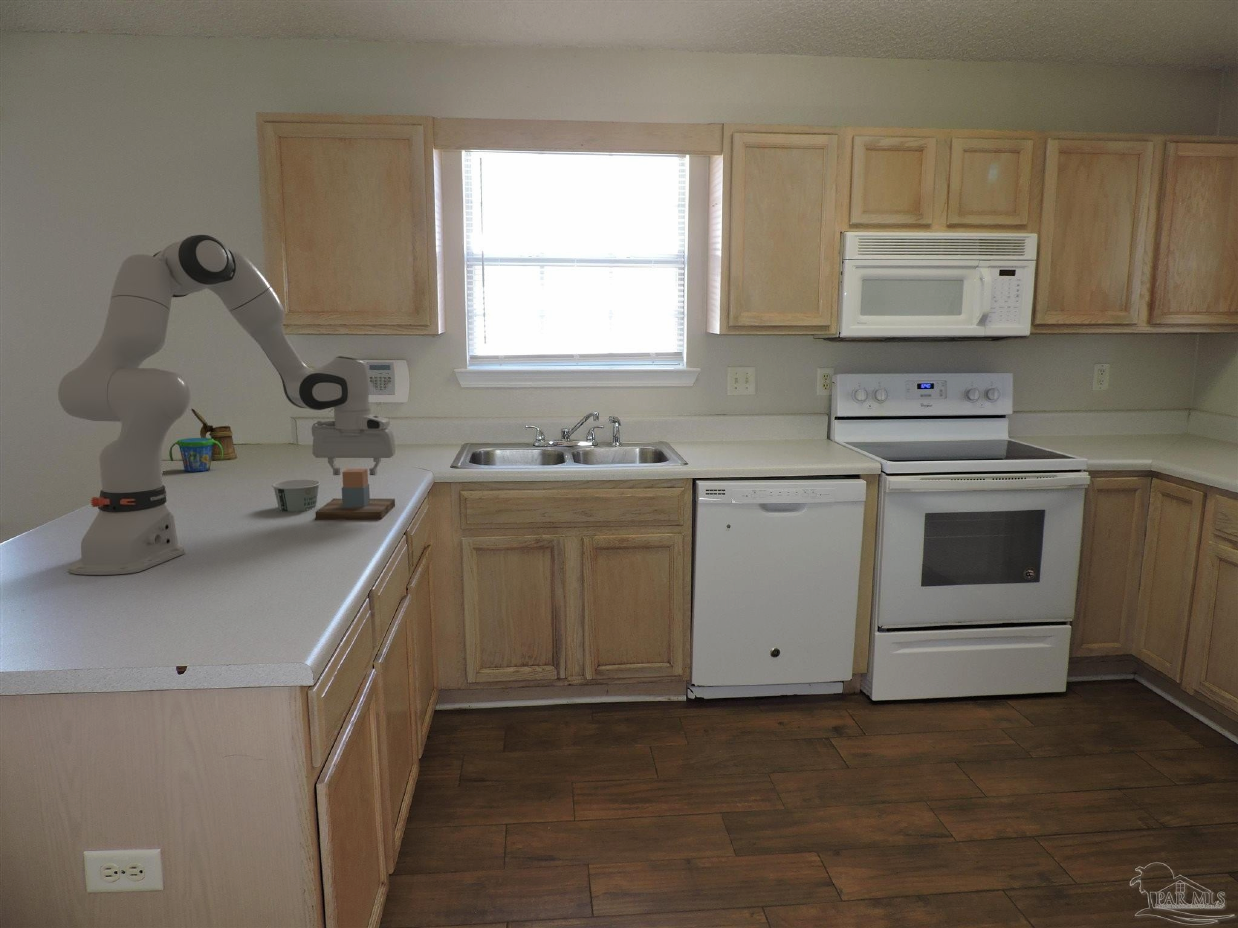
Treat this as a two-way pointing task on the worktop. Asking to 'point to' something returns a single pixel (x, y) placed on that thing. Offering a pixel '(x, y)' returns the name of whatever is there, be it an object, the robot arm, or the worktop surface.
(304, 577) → the worktop surface
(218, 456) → the wooden mug
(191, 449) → the snack cup
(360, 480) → the terracotta block
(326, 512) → the walnut board
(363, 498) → the slate block
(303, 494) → the food container
